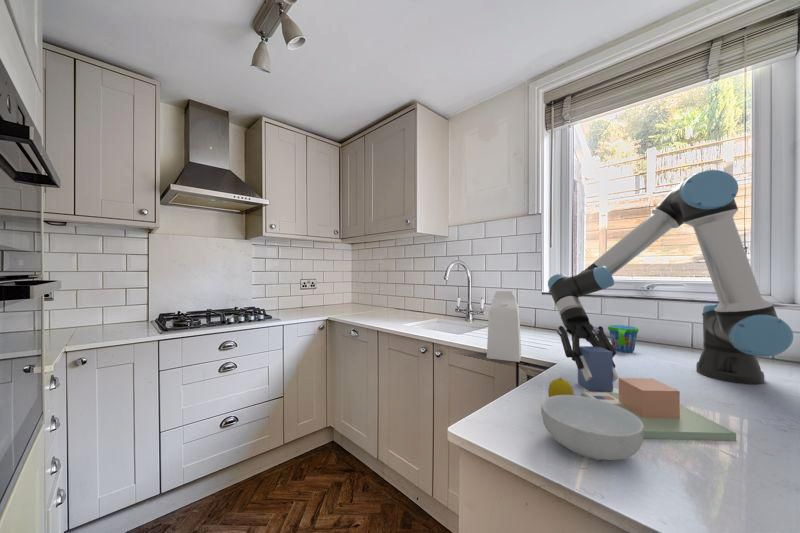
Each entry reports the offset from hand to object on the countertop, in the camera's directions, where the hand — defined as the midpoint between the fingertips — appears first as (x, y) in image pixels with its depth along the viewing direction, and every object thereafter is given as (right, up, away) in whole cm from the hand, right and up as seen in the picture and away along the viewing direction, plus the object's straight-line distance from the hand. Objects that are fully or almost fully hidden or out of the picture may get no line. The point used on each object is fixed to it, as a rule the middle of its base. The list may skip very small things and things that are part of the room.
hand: (601, 378), depth 88 cm
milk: (-15, -4, +36) cm, 40 cm away
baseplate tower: (+1, -3, -15) cm, 15 cm away
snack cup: (+38, -4, +45) cm, 59 cm away
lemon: (-18, -4, -12) cm, 21 cm away
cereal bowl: (-20, -4, -28) cm, 34 cm away
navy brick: (0, -4, +4) cm, 5 cm away
